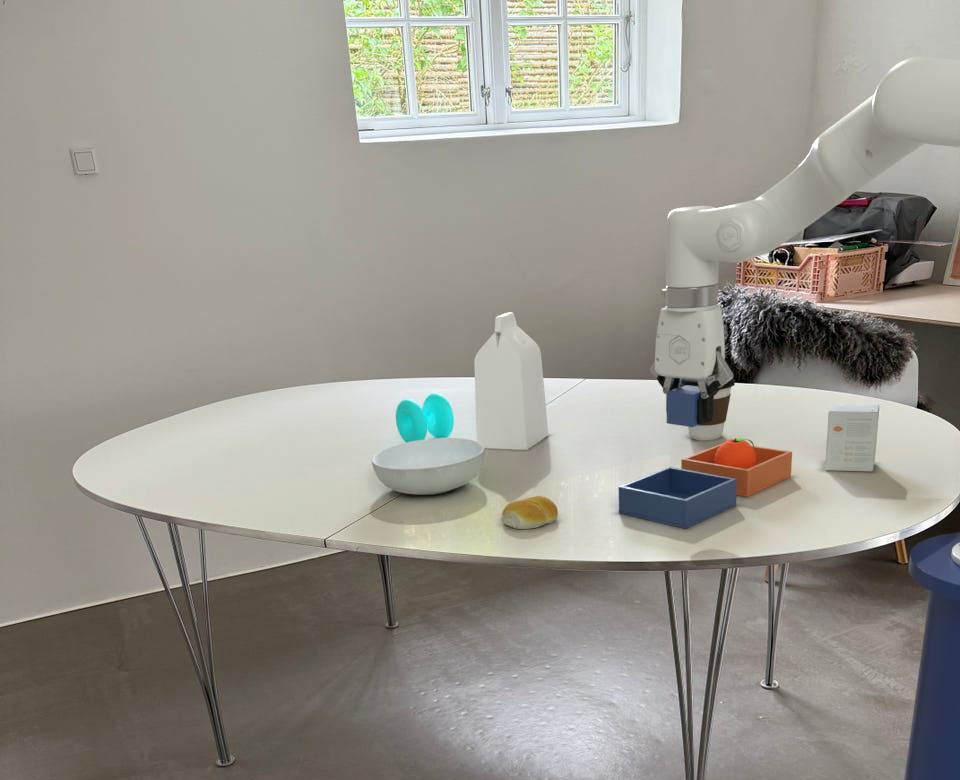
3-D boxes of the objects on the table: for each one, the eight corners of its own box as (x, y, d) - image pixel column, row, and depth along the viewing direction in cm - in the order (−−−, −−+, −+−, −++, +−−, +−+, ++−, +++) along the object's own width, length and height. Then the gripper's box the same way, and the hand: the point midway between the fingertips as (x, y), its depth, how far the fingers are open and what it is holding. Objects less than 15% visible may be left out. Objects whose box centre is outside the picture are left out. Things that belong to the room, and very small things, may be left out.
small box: (875, 463, 168) (881, 403, 164) (872, 472, 164) (878, 411, 159) (827, 461, 171) (831, 403, 167) (823, 470, 167) (828, 410, 162)
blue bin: (736, 505, 154) (737, 478, 152) (685, 528, 146) (686, 500, 144) (669, 492, 163) (669, 466, 161) (618, 513, 156) (618, 486, 154)
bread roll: (567, 518, 155) (566, 495, 153) (527, 533, 150) (526, 509, 148) (532, 509, 161) (531, 486, 159) (493, 523, 156) (491, 500, 154)
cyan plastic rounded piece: (458, 440, 208) (454, 394, 203) (419, 450, 203) (414, 403, 198) (434, 433, 215) (429, 389, 211) (396, 443, 210) (390, 397, 206)
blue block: (712, 420, 148) (713, 388, 146) (692, 427, 145) (693, 394, 143) (686, 416, 151) (686, 385, 149) (666, 423, 148) (666, 391, 146)
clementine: (738, 469, 170) (740, 429, 167) (768, 476, 165) (770, 436, 161) (705, 479, 166) (706, 439, 163) (734, 487, 161) (735, 446, 158)
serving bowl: (412, 469, 190) (408, 435, 187) (506, 475, 180) (503, 439, 177) (354, 501, 174) (348, 464, 171) (453, 510, 164) (449, 471, 161)
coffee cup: (713, 427, 200) (715, 369, 195) (744, 437, 191) (746, 376, 185) (668, 435, 197) (668, 376, 192) (697, 446, 188) (698, 385, 182)
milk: (500, 433, 210) (491, 310, 199) (548, 435, 206) (542, 309, 194) (476, 447, 201) (466, 319, 189) (526, 449, 196) (518, 318, 185)
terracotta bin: (790, 476, 165) (792, 451, 163) (746, 497, 157) (748, 470, 155) (725, 465, 174) (726, 441, 172) (681, 484, 167) (681, 459, 165)
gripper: (630, 299, 144) (631, 419, 152) (725, 303, 132) (721, 433, 140) (661, 293, 148) (660, 409, 156) (756, 296, 136) (750, 422, 144)
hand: (689, 419), depth 148 cm, fingers closed on blue block, 5 cm apart
